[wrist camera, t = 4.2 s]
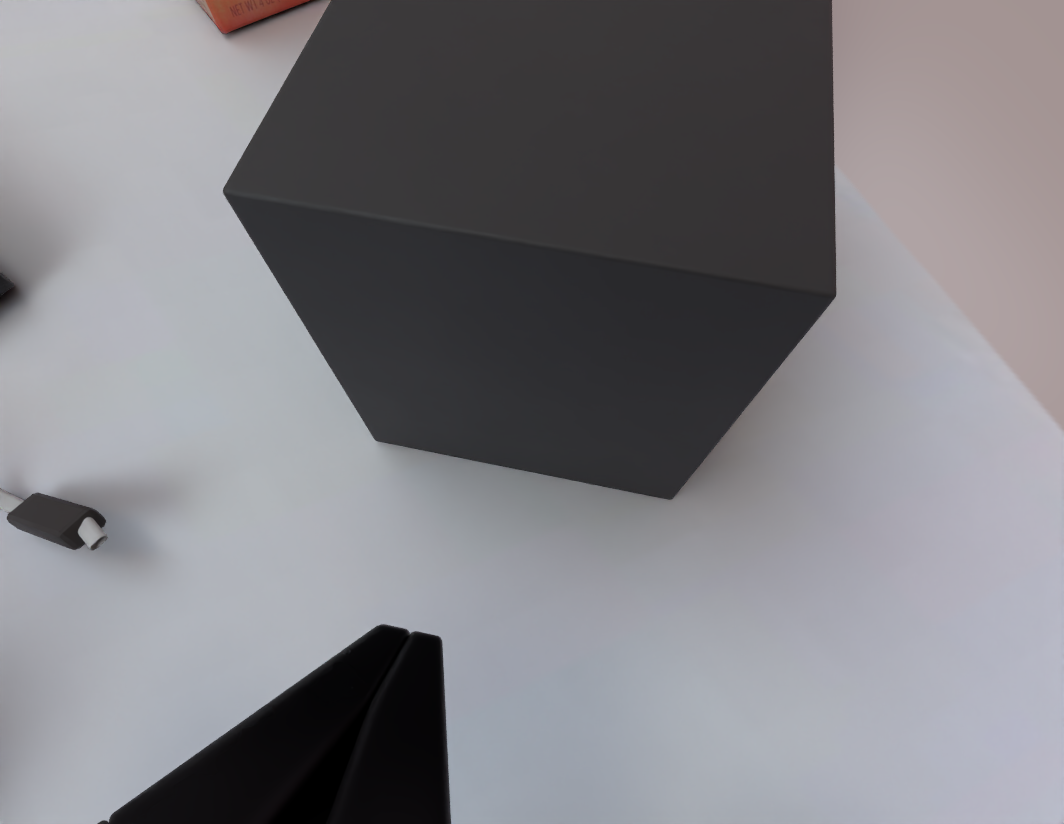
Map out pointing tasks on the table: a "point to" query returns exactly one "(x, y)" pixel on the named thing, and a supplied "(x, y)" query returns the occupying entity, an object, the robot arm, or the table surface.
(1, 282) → the tablet stand
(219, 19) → the cracker box
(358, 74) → the speaker
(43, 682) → the table surface
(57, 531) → the clip-on lamp
